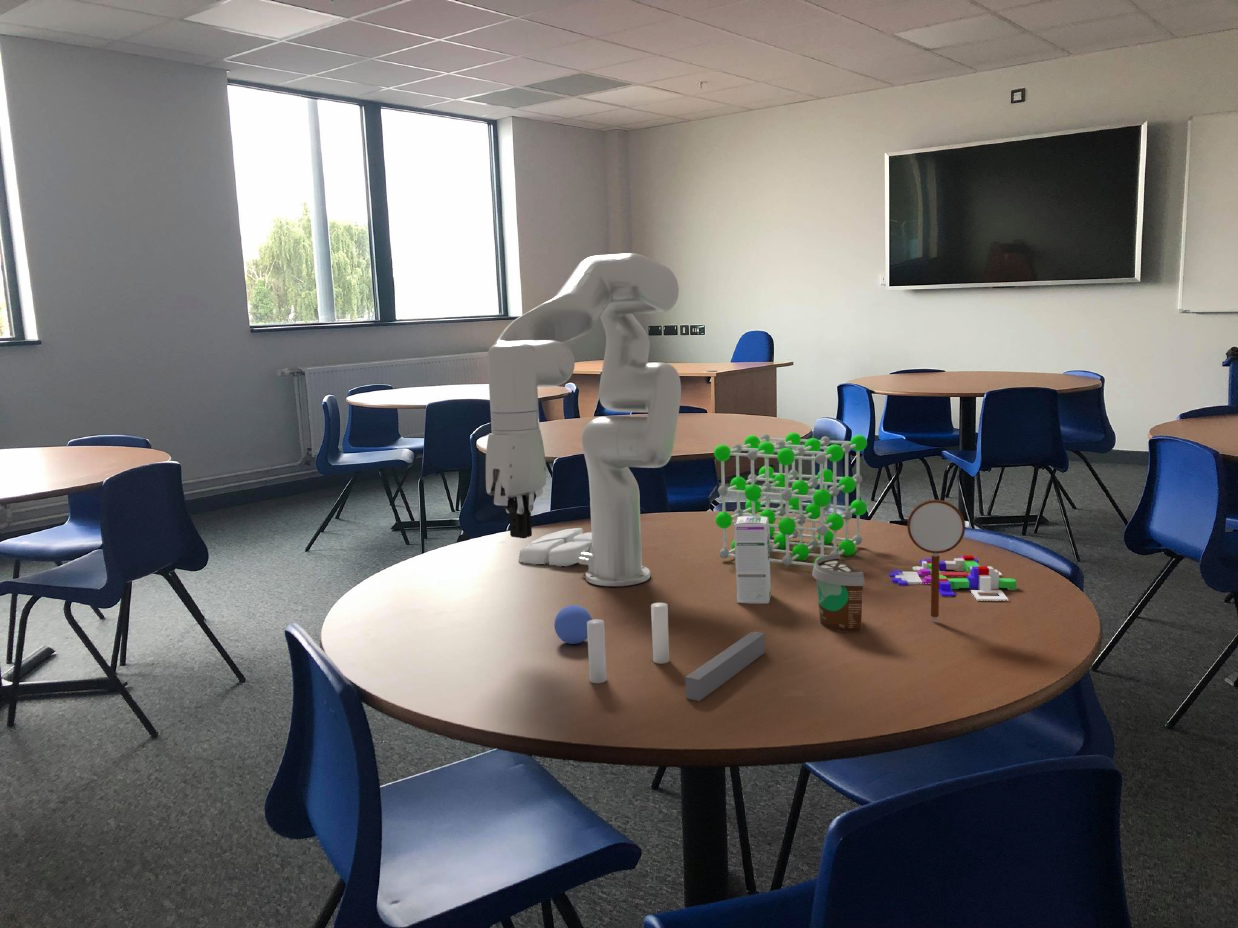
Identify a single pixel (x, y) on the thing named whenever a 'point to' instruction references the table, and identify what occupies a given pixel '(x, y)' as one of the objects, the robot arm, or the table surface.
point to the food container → (838, 594)
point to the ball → (572, 624)
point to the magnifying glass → (936, 537)
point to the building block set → (975, 579)
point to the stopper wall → (724, 666)
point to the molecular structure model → (795, 494)
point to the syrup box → (752, 559)
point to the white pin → (660, 632)
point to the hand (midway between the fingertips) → (521, 536)
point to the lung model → (558, 548)
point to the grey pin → (596, 651)
